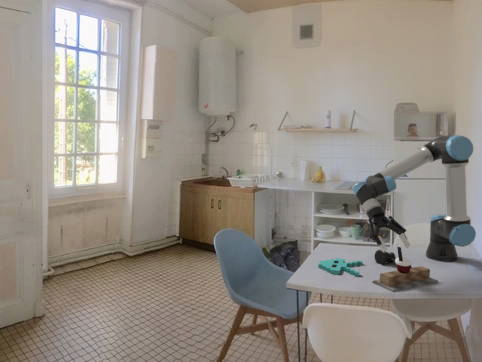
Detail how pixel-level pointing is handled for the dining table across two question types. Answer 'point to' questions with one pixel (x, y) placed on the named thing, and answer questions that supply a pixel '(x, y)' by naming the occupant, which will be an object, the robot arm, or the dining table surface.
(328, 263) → the alien figure
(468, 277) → the dining table surface
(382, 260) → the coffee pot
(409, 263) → the cocoa
